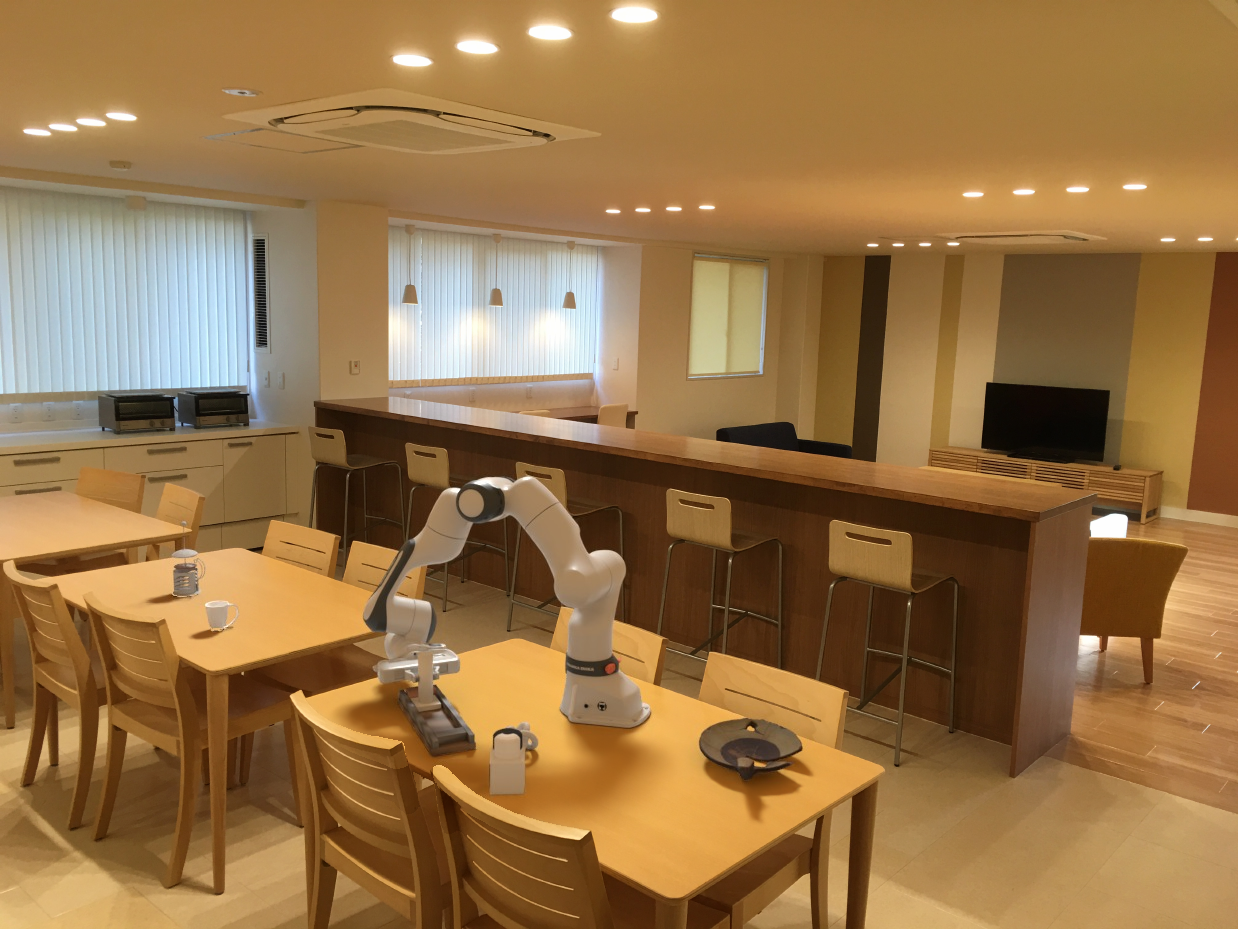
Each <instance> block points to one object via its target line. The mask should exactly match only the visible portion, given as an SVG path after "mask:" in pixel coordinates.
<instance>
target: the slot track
mask: <svg viewBox="0 0 1238 929" xmlns="http://www.w3.org/2000/svg"><path fill="white" fill-rule="evenodd" d="M433 695H435V696H436V697H437V699H438V700H439V701H440V703H441V709H434V710H428V711H422V712H419V711H418V710H417V708H416V707H415V705H414V704H413V702H412V701H411V698H417V697H418V685H417V686H411V687H405V689H398V697H397V705H398V707H399V708H400V709H401V711H402V712H403V715H404V716H405V717H406V719H407V720H408V722H409V723H410V725H411V726H412V728H413V729H414V731H415V732H416V734H417V736H418V737H419V739H420V740H421V742H422V743H423V745H424V746H425V748H426V749H427V751H428V753H429V754H430V756H431V757H432V756H434V757H438V756H444V755H445V756H446V755H449V754H450V755H451V754H455V753H461V752H466V751H472V750H476V749H477V742H476V741H475V740H476V736H475V733H474V732H473V730H472V729H471V728H470V727H469V726H468V724H467V723H466V721H465V720H464V719H463V717H462V716H461V714H459V712H458V711H457V709H456V708H455V707H454V706H453V705H452V703H451V702H450V701H449V699H447V697H446V696H445V694H444V693H443V692H442V691H441V689H440V688H439V686H437V684H433Z"/></svg>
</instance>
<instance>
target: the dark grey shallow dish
mask: <svg viewBox="0 0 1238 929" xmlns="http://www.w3.org/2000/svg"><path fill="white" fill-rule="evenodd" d="M749 727H751V728H752V729H754V730H749V729H748V728H749ZM698 739H699V740H698V746H699V750H700V752H701V753H702V755H703V756H704V757H705V758H706V759H707V760H709V761H710V762H712V763H714V764H715V765H717V766H719V767H721V768H723V769H726V770H728V771H732V772H734V773H737V774H738V775H739V777H740V779H741V780H742V781H746V782H747V781H751V780H752V779H753V777H754V776H756V775H761V774H769V773H770V774H771V773H773V772H778V771H781V770H782V769H783V770H784V769H786V768H788V767H790V766H792V765H793V764H795V762H794V761H788V760H787V761H781V760H785V759H787V758H789V757H792V756H795V755H797V754H799V753H801V752H802V751H803V742H802V741H801V739H800V738H799V737H798V736H797V734H796V733H794V732H793V731H792V730H791V729H788V728H786V727H785V726H782V725H779V724H778V723H774V722H771V721H767V720H765V719H763V718H762V719H759V718H758V719H757V718H756V719H755V718H754V719H753V718H749V717H742V718H736V719H728V720H724V721H720V722H717V723H714V724H711V725H709V726H708V727H706V729H704V730H702V732H701V733H700V737H698ZM754 760H755V761H758V762H762V763H766V765H764V766H757V765H755V761H754Z"/></svg>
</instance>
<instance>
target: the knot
mask: <svg viewBox="0 0 1238 929" xmlns="http://www.w3.org/2000/svg"><path fill="white" fill-rule="evenodd" d="M505 728H513V729H517V730H519V731H520V732H521V733H522V735H523V737H522V747H525V751H526V750H535V749H537V748H538V746H539V739H538V737H537V736H536V734H535V733H534V732H532V731H531V726H530V723H529V722H528V721H522V722H520V723H519V725H518V726H517V727H515V726H513V725H507V726H506V727H505ZM529 740H530V741H531V742H530V741H529Z"/></svg>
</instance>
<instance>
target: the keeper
mask: <svg viewBox="0 0 1238 929" xmlns="http://www.w3.org/2000/svg"><path fill="white" fill-rule="evenodd" d="M418 675H419V682H417V684H418V685H417V686H418V697H417V698H411V701H412V702H413V704H414V705H415V707H416V708H417V710H418V711H419V712H422V711H428V710H434V709H441V703H440V701H439V700H438V699H437V697H436V696H435V695H433V685H434V680H433V653H432V652H429V651H424V652H420V653H418Z"/></svg>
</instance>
